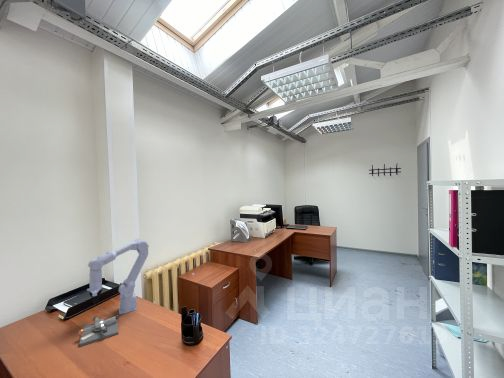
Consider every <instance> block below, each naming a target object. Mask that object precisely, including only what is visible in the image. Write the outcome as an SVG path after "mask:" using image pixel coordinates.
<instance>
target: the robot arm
mask: <svg viewBox="0 0 504 378" xmlns="http://www.w3.org/2000/svg"><path fill="white" fill-rule="evenodd" d="M129 251H136V252H137V254H138V256H137V258H136V260H135V261H134V264H133V266H132V268H131V269H130V272H129V274H128V276H127V278H126V279H124V280H123V281H122V283H121V284H120V285H119V287H118V293H120V295H119V307H118V315H123V314H126V313H127V314H128V313H129V312H133V311H137V309H138V307H137V305H138V302H137V300H138V299H137V293H134V292H135V287H136V281H137V279H138V276H139V274H140V272H141V270H142V268H143V266H144V264H145V262H146V260H147V258H148V256H149V244H148V242H147V241H146V240H143V239H140V238H136V239H135V240H132V241H130V242H129V243H127V244H125V245H123V246H122V247H120V248H118V249H116V250H113V251H106V252H105V254H103V255H100V256H97V257H96V258H92V259H91V260H90V261H89V262H88V264H87V266H88V268H89V288H87V289H86V292H89V296H90V297H91V300H92V304H93V305H96V304H99V301H100V297H101V294H102V290H103V283H102V281H103V278H102V276H103V274H102V273H103V272H102V268H103V267H104V266H105V265H107V264H110V263H111V262H113V261H116V259H117V258H118V257H119V256H120V255H121V256H122V255H123V254H125V253H127V252H129Z"/></svg>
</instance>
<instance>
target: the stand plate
mask: <svg viewBox="0 0 504 378" xmlns="http://www.w3.org/2000/svg"><path fill="white" fill-rule="evenodd" d="M118 321H119V318H118V319H117V320H114V321H111V322H109V323H107V327H106V328H107V332H106V333H103V332H102V330H101V331H98V332H93V331H92V330H91V331H88V332H86V333H84V334H82V335H80V339H79V343H78V346H79V348H80V347H83V346H86V345H90V344H92V343H95V342H99V341H101V340H104V339H107V338H111V337H113V336H117V335H119V325H118V324H119V322H118ZM93 325H95V322H94V323H91V324H87V325H84V326H82V329H85V328H88V327H90V326H93Z"/></svg>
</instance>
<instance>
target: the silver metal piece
mask: <svg viewBox="0 0 504 378" xmlns="http://www.w3.org/2000/svg"><path fill="white" fill-rule="evenodd" d="M119 318H120V314H117V315H115V316H112V317H110V318H107V319H104V318H99V317H98V316H97V315H95V316H94V317H93V318H92V320H93V321H94V323H95V325H93V326H90V327H88V328H85V329H83V328H82V329H80V330H78V333H77V334H78V335H79V336H81V335H82V334H84V333H86V332H88V331H91V330H92V331H93V332H98V331H101V330H102V332H103V333H106V332H107V328H106V327H107V323H109V322H111V321H114V320H117V319H118V320H119Z"/></svg>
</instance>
